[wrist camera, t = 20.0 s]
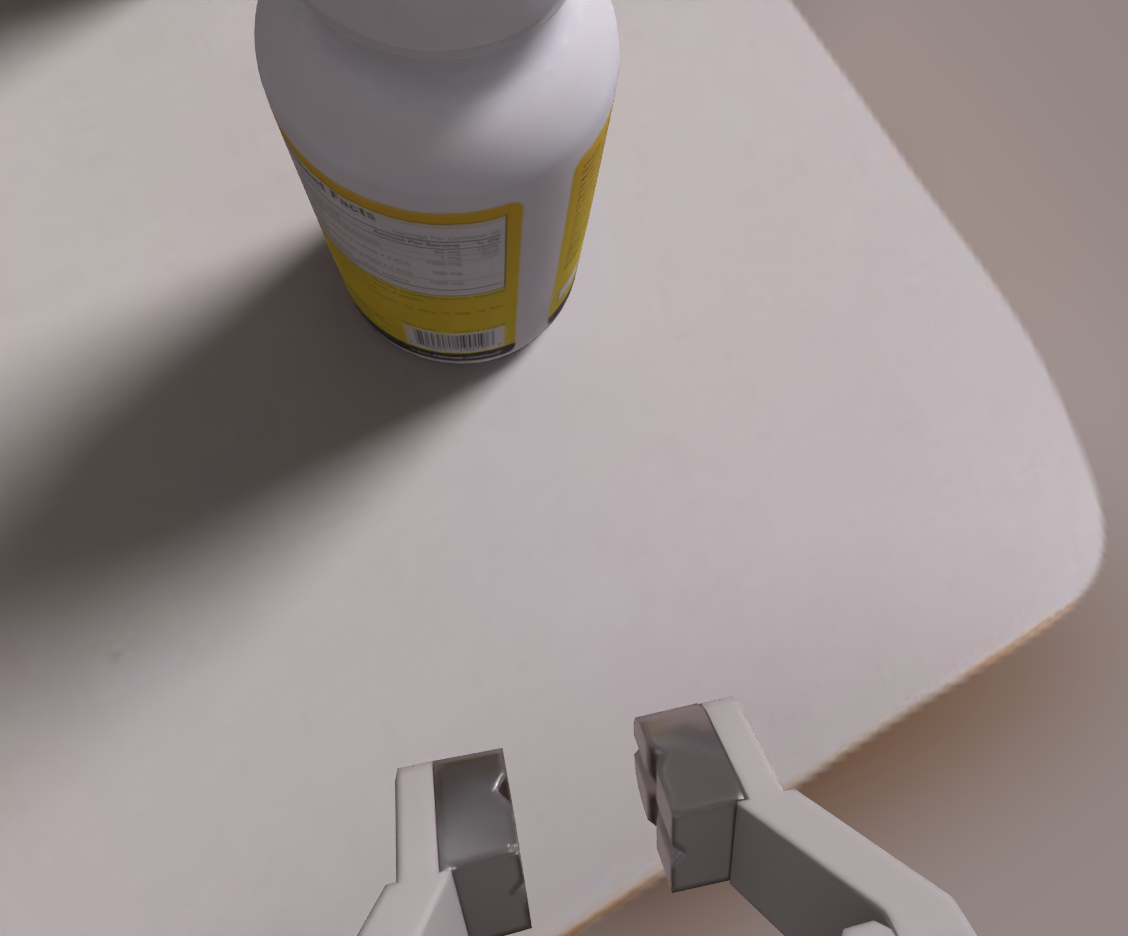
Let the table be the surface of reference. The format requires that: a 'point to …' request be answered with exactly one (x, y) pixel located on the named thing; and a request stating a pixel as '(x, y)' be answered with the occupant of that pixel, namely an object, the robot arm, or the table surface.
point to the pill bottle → (446, 155)
